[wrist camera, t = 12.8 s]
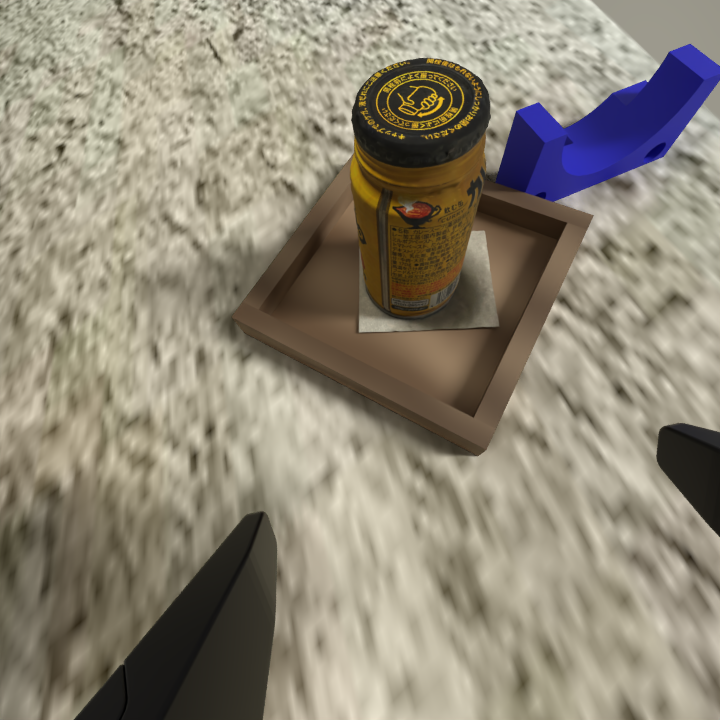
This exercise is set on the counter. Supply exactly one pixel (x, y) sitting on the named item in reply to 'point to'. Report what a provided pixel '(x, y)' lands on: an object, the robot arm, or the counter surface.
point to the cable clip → (607, 131)
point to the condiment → (421, 198)
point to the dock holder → (415, 348)
